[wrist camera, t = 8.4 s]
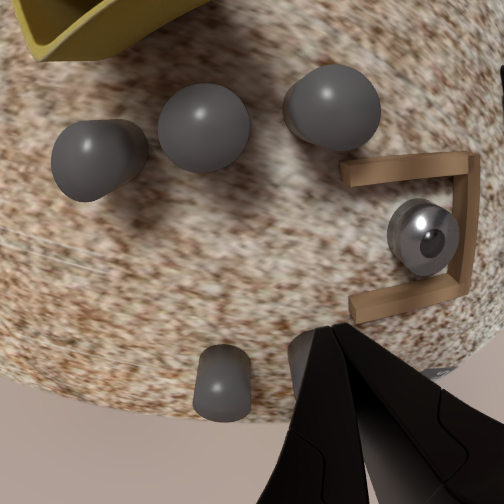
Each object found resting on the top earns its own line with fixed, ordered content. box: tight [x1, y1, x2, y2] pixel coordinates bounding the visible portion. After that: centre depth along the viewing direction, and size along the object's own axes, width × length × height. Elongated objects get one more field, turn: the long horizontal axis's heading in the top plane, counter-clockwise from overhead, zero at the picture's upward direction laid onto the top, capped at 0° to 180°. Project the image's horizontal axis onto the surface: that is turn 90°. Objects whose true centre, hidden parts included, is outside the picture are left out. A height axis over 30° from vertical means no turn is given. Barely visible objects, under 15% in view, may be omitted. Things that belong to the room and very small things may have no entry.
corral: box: [339, 151, 480, 324], centre depth 18 cm, size 10×11×2 cm
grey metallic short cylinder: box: [387, 198, 459, 276], centre depth 18 cm, size 5×5×2 cm
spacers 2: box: [193, 330, 314, 422], centre depth 21 cm, size 11×4×4 cm, turn 100°
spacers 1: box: [51, 65, 381, 202], centre depth 14 cm, size 16×4×4 cm, turn 100°
